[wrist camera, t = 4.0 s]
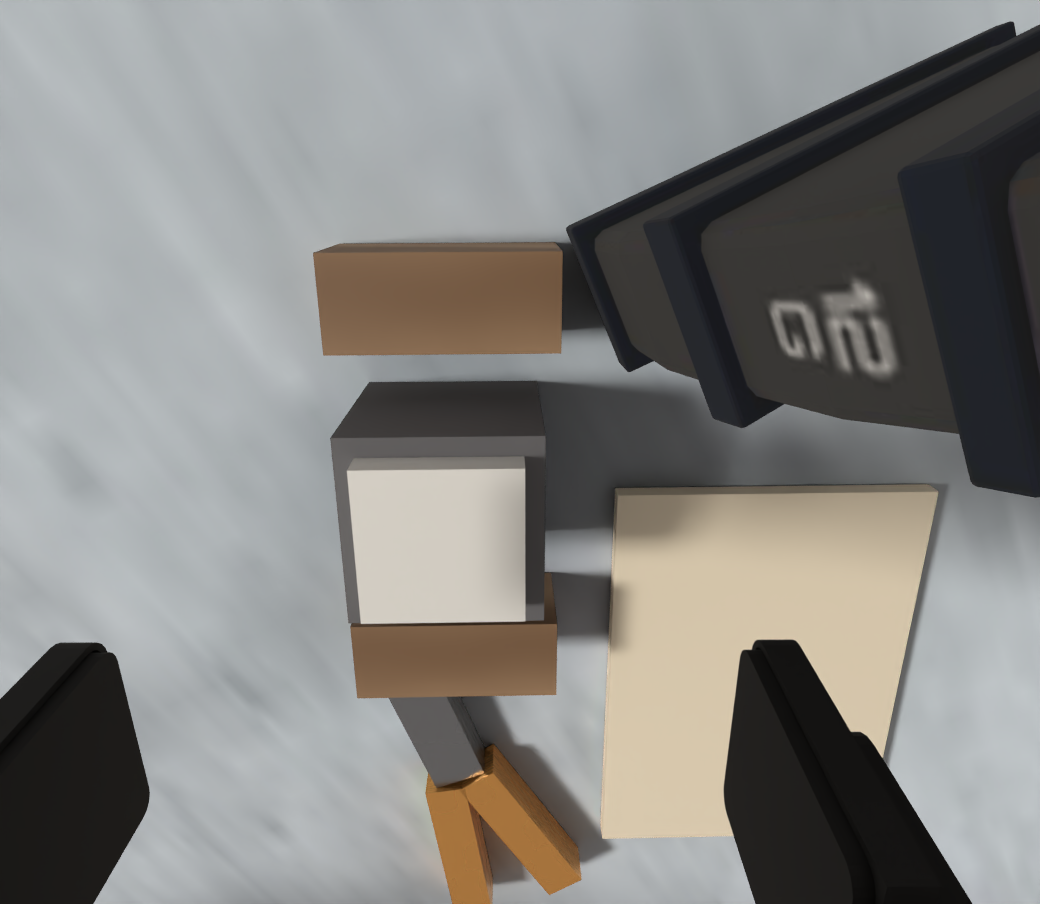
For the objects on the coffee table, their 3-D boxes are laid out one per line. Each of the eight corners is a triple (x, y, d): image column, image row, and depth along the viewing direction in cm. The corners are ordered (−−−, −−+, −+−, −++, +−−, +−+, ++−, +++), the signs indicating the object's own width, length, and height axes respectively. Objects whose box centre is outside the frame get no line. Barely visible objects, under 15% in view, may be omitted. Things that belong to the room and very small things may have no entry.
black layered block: (456, 273, 19) (1117, 118, 5) (808, 97, 23) (1701, -248, 9) (514, 400, 20) (1175, 526, 7) (839, 212, 24) (1670, 52, 11)
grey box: (535, 530, 24) (545, 638, 18) (380, 532, 23) (342, 641, 18) (536, 380, 22) (547, 447, 16) (369, 381, 22) (322, 449, 16)
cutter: (580, 852, 28) (584, 885, 27) (460, 887, 29) (458, 920, 27) (476, 624, 25) (474, 649, 23) (340, 669, 25) (331, 695, 24)
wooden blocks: (550, 637, 25) (555, 694, 22) (374, 639, 25) (357, 698, 22) (554, 242, 20) (562, 251, 18) (339, 243, 20) (313, 252, 17)
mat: (859, 820, 28) (866, 833, 27) (600, 825, 28) (602, 838, 27) (928, 484, 23) (938, 491, 23) (615, 488, 23) (617, 495, 22)
